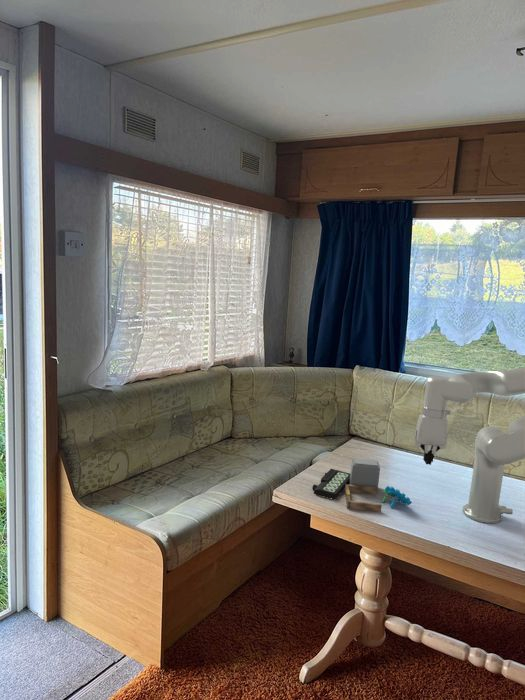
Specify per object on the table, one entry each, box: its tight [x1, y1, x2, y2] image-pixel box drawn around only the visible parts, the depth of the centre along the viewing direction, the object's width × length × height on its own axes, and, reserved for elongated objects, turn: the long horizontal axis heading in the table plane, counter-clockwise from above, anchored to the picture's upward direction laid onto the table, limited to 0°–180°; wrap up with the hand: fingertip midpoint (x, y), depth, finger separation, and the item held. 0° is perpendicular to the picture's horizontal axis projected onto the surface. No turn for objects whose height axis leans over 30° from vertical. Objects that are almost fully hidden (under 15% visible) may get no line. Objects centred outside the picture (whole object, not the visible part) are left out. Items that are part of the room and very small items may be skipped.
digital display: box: [312, 468, 350, 500], centre depth 196 cm, size 21×3×10 cm
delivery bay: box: [344, 484, 382, 513], centre depth 185 cm, size 12×14×3 cm
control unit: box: [348, 457, 381, 493], centre depth 195 cm, size 10×7×11 cm
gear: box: [381, 485, 413, 509], centre depth 182 cm, size 11×6×10 cm
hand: (427, 463), depth 180 cm, fingers closed
